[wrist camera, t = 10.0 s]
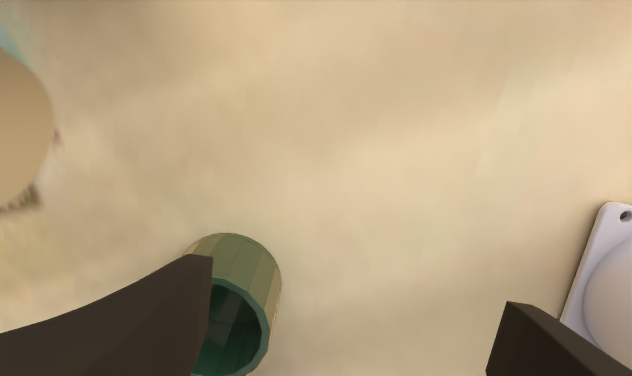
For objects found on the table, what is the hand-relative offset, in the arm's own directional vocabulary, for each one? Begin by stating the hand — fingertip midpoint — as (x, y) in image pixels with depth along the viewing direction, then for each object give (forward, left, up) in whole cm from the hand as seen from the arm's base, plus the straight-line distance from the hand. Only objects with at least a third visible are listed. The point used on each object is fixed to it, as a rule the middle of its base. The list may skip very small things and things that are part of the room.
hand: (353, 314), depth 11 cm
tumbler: (+5, +6, -10) cm, 13 cm away
